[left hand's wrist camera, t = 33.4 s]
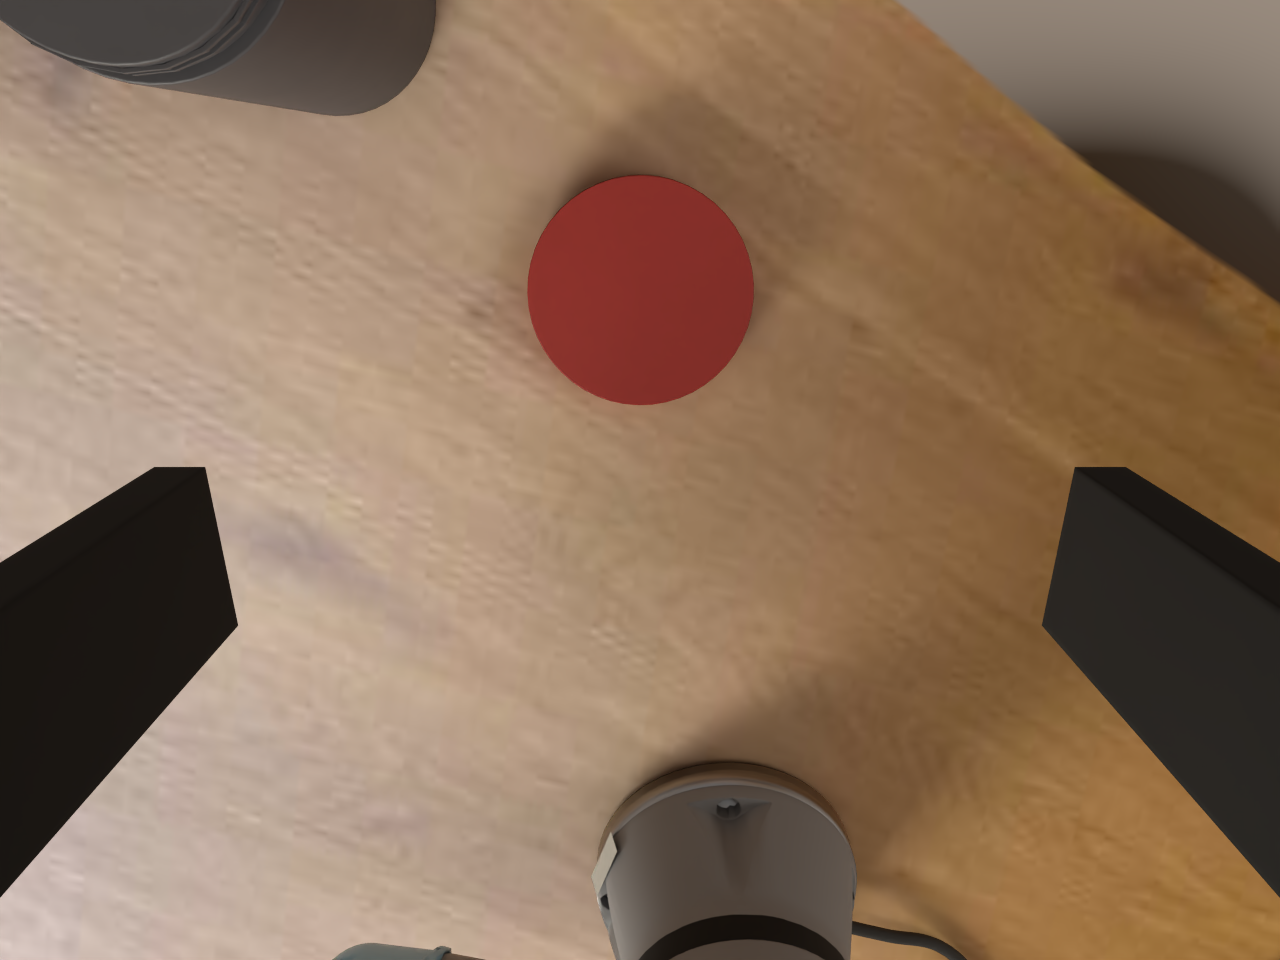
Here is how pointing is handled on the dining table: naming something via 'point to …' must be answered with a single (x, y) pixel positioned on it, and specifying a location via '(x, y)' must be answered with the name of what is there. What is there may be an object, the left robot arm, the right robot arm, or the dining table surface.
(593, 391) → the lid
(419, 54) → the jar
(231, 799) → the dining table surface
